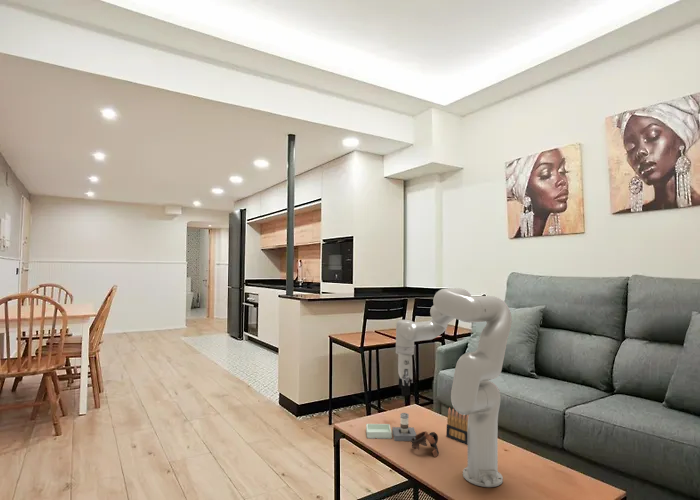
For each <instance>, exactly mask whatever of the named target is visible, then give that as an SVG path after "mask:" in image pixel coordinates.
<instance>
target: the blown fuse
mask: <svg viewBox="0 0 700 500" xmlns="http://www.w3.org/2000/svg"><path fill="white" fill-rule="evenodd" d="M399 417H400V424H399V425H400V427H401V430H400V434H408V427H409V413H407V412H400V416H399Z"/></svg>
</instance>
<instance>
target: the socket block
mask: <svg viewBox="0 0 700 500" xmlns="http://www.w3.org/2000/svg"><path fill="white" fill-rule="evenodd" d="M400 430H401V427H399V426H397V427H396V426H395V427H394V426H392V428H391V432H392V436H393V439H394V440H393V441H394V442H411V439H412V438H414V440H415V439H416V438H415V436H416V435H417V432H416V430H415V428H414V427H412V426H411V427H409V426H408V434H400Z"/></svg>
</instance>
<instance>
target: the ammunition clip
mask: <svg viewBox="0 0 700 500" xmlns="http://www.w3.org/2000/svg"><path fill="white" fill-rule="evenodd" d="M447 411H448V412H447V417H446V418H447V424H446V435H445V437H446V438H449V439H451V440H453V441H456V442H459V443H461V444H464V445H467V446H468V417H469V415H462V414H459V413H458V412H457V411H456V410H455V409H454V408H452V410H451V407H448V409H447Z"/></svg>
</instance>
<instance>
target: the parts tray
mask: <svg viewBox="0 0 700 500" xmlns="http://www.w3.org/2000/svg"><path fill="white" fill-rule="evenodd" d="M365 426H366V427H365V431H366V432H365V433H366V439H375V438H377V439H381V440H383V439H385V440H387V439H389V440H392V439H393V437H392V436H393V433H392V428H391V424H390V423H366V425H365Z"/></svg>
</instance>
